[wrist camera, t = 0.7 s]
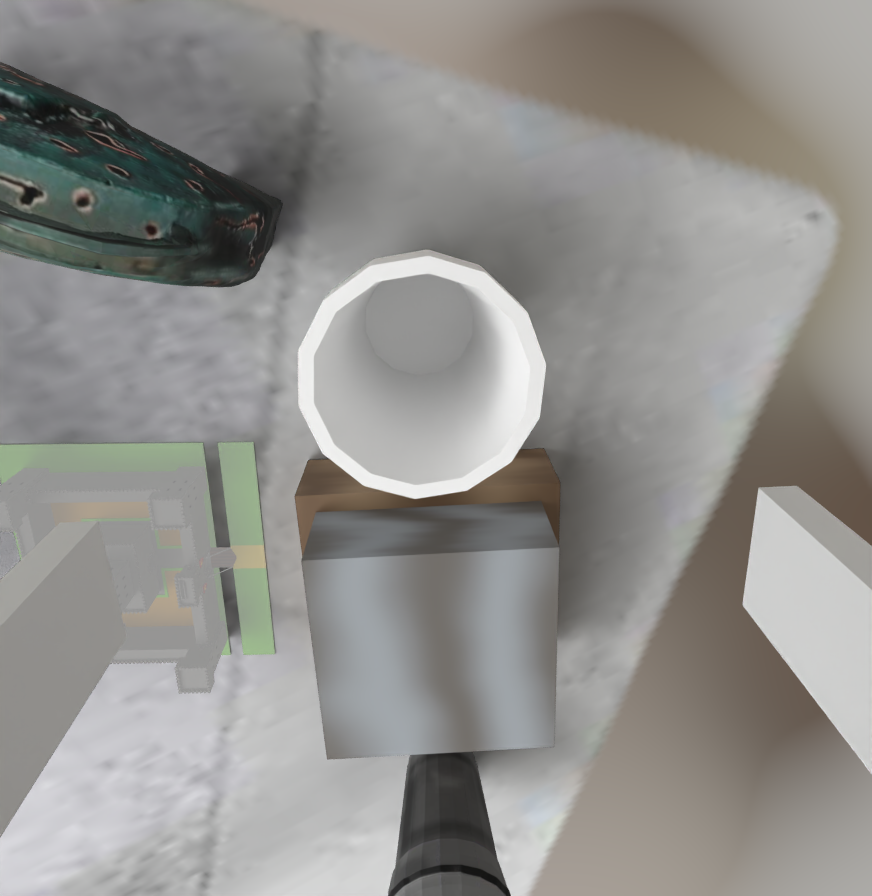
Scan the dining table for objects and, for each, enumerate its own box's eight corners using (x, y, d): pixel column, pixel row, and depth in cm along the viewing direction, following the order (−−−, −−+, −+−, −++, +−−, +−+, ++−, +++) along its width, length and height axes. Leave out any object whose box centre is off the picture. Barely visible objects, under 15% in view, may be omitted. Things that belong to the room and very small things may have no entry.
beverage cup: (443, 694, 48) (461, 1026, 29) (513, 752, 50) (572, 1096, 31) (369, 753, 49) (341, 1102, 31) (439, 806, 51) (454, 1164, 33)
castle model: (-3, 441, 41) (-89, 495, 34) (255, 439, 41) (222, 492, 34) (49, 652, 46) (-15, 736, 39) (276, 648, 47) (252, 730, 40)
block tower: (331, 654, 46) (310, 774, 37) (308, 460, 41) (277, 542, 32) (540, 643, 46) (572, 760, 37) (543, 448, 41) (581, 527, 32)
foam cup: (494, 405, 40) (529, 504, 28) (334, 397, 40) (299, 493, 28) (511, 235, 37) (558, 263, 25) (336, 224, 36) (296, 247, 24)
